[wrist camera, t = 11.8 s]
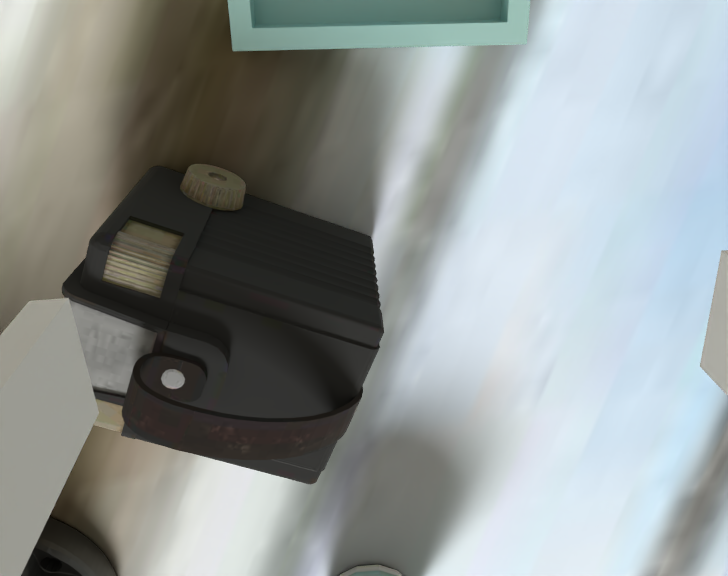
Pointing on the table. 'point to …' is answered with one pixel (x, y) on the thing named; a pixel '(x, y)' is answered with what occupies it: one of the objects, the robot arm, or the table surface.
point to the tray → (375, 23)
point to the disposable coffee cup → (371, 571)
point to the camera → (226, 323)
